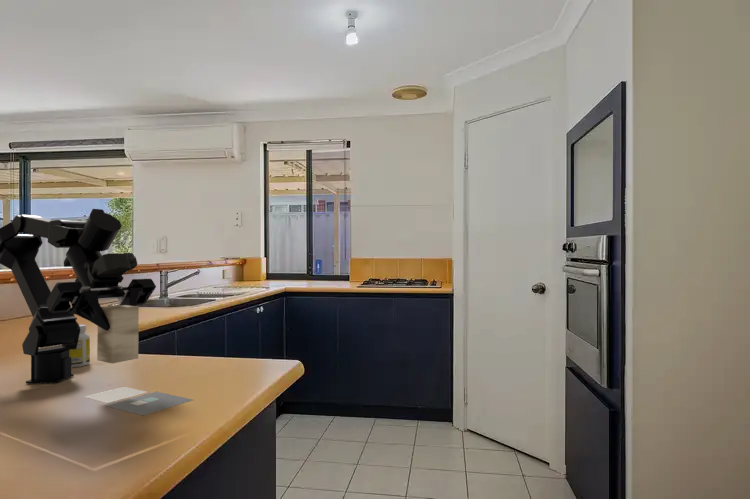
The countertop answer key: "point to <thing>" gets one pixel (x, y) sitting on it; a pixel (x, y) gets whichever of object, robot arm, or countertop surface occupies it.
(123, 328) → the birch block
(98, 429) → the countertop surface
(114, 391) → the pad
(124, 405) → the gray tile
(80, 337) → the supplement bottle
